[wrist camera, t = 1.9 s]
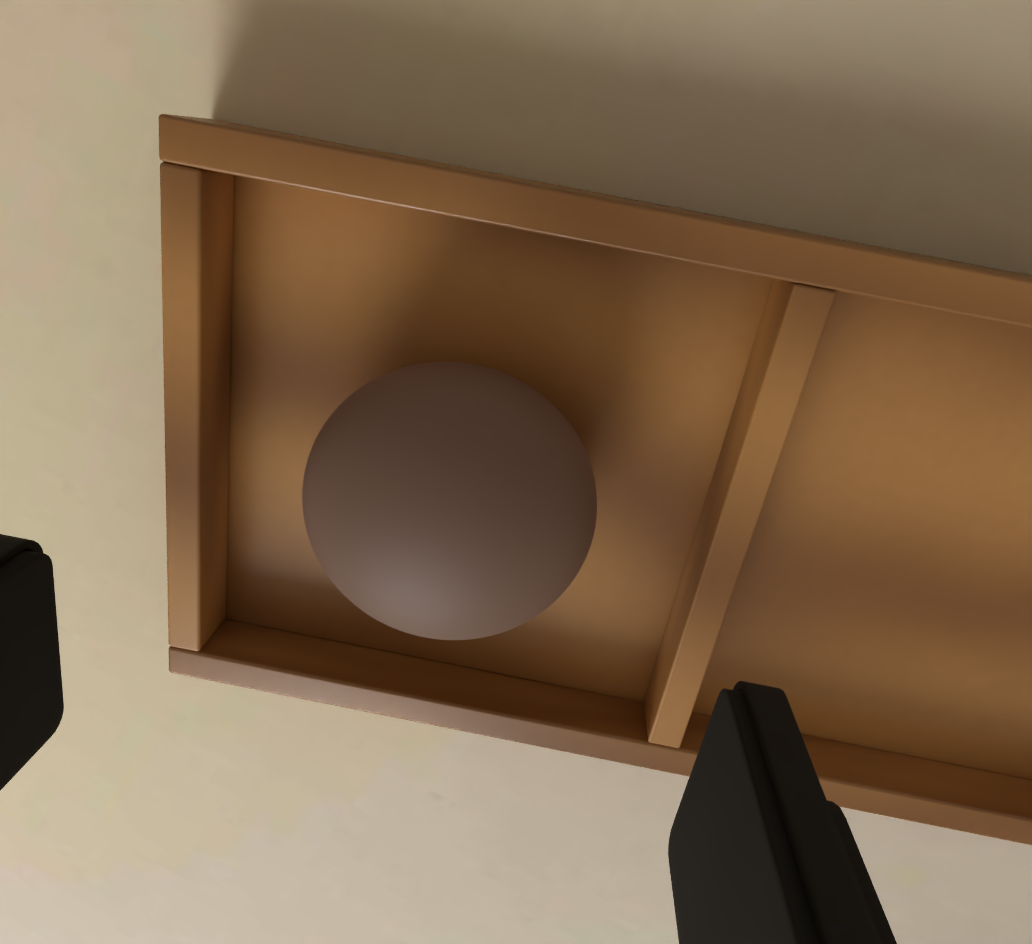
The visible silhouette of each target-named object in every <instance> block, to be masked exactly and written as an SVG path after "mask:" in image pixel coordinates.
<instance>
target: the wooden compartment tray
mask: <svg viewBox="0 0 1032 944" xmlns="http://www.w3.org/2000/svg"><path fill="white" fill-rule="evenodd" d="M159 157H160V160H162V161H164V162H163V163H161V165H160V188H161V243H162V298H163V353H164V408H165V463H166V519H167V574H168V629H169V645H170V647H169V671H170V672H171V673H176V674H181V675H186V676H191V677H196V678H201V679H206V680H211V681H216V682H221V683H226V684H231V685H236V686H241V687H246V688H251V689H256V690H261V691H266V692H271V693H276V694H281V695H286V696H291V697H296V698H301V699H306V700H311V701H316V702H321V703H326V704H331V705H336V706H341V707H346V708H351V709H356V710H361V711H366V712H371V713H376V714H381V715H386V716H391V717H396V718H401V719H405V720H410V721H415V722H420V723H425V724H430V725H435V726H440V727H445V728H450V729H455V730H460V731H465V732H470V733H475V734H480V735H485V736H490V737H495V738H500V739H505V740H510V741H515V742H520V743H525V744H530V745H535V746H540V747H545V748H550V749H555V750H560V751H565V752H570V753H575V754H580V755H585V756H590V757H595V758H600V759H605V760H610V761H615V762H620V763H625V764H630V765H635V766H640V767H645V768H650V769H655V770H660V771H665V772H670V773H675V774H680V775H685V776H690V774H691V772H692V769H693V766H694V763H695V760H696V757H697V755H698V752H699V749H700V746H701V743H702V740H703V737H704V735H705V732H706V729H707V726H708V723H709V720H710V718H711V715H712V712H713V709H714V706H715V703H716V700H717V698H718V695H719V693H720V691H721V690H722V689H724V688H725V689H730V690H733V688H734V686H735V685H736V683H737V682H739V681H745V682H750V683H756V684H761V685H766V686H771V687H776V688H780V689H782V690H783V691H784V693H785V694H786V696H787V699H788V702H789V704H790V707H791V709H792V712H793V714H794V717H795V720H796V722H797V725H798V727H799V730H800V733H801V735H802V738H803V740H804V743H805V745H806V748H807V751H808V753H809V756H810V758H811V761H812V764H813V766H814V769H815V771H816V774H817V776H818V779H819V782H820V784H821V787H822V789H823V792H824V795H825V797H826V800H828V801H833V802H834V803H835V804H837V805H838V806H839V807H844V808H849V809H854V810H859V811H864V812H869V813H874V814H879V815H884V816H889V817H894V818H899V819H904V820H909V821H914V822H919V823H924V824H929V825H934V826H939V827H944V828H949V829H954V830H959V831H964V832H969V833H974V834H979V835H984V836H989V837H994V838H999V839H1004V840H1009V841H1014V842H1019V843H1024V844H1029V845H1032V276H1030V275H1025V274H1019V273H1014V272H1009V271H1004V270H999V269H993V268H988V267H983V266H978V265H972V264H967V263H962V262H957V261H951V260H946V259H941V258H936V257H930V256H925V255H920V254H915V253H909V252H904V251H899V250H894V249H889V248H883V247H878V246H873V245H868V244H862V243H857V242H852V241H847V240H841V239H836V238H831V237H826V236H820V235H815V234H810V233H805V232H800V231H794V230H789V229H784V228H779V227H773V226H768V225H763V224H758V223H752V222H747V221H742V220H737V219H731V218H726V217H721V216H716V215H710V214H705V213H700V212H695V211H690V210H684V209H679V208H674V207H669V206H663V205H658V204H653V203H648V202H642V201H637V200H632V199H627V198H621V197H616V196H611V195H606V194H600V193H595V192H590V191H585V190H580V189H574V188H569V187H564V186H559V185H553V184H548V183H543V182H538V181H532V180H527V179H522V178H517V177H511V176H506V175H501V174H496V173H490V172H485V171H480V170H475V169H470V168H464V167H459V166H454V165H449V164H443V163H438V162H433V161H428V160H422V159H417V158H412V157H407V156H401V155H396V154H391V153H386V152H380V151H375V150H370V149H365V148H360V147H354V146H349V145H344V144H339V143H333V142H328V141H323V140H318V139H312V138H307V137H302V136H297V135H291V134H286V133H281V132H276V131H271V130H265V129H260V128H255V127H250V126H244V125H239V124H234V123H229V122H223V121H218V120H213V119H205V118H195V117H186V116H177V115H167V114H161V115H159ZM429 362H461V363H469V364H475V365H480V366H484V367H488V368H491V369H494V370H497V371H500V372H503V373H505V374H507V375H510V376H512V377H514V378H516V379H518V380H520V381H522V382H524V383H525V384H527V385H529V386H530V387H532V388H533V389H535V390H536V391H537V392H539V393H540V394H541V395H543V396H544V397H545V398H546V399H547V400H549V401H550V402H551V403H552V404H553V405H554V406H555V407H556V408H557V409H558V410H559V411H560V412H561V413H562V414H563V416H564V417H565V418H566V419H567V421H568V422H569V423H570V425H571V426H572V427H573V429H574V430H575V432H576V433H577V435H578V437H579V438H580V440H581V442H582V444H583V446H584V448H585V451H586V453H587V455H588V458H589V461H590V463H591V467H592V470H593V474H594V479H595V484H596V492H597V518H596V526H595V531H594V536H593V540H592V543H591V546H590V549H589V552H588V554H587V557H586V559H585V561H584V563H583V565H582V567H581V569H580V571H579V572H578V574H577V576H576V577H575V579H574V580H573V581H572V583H571V584H570V585H569V587H568V588H567V589H566V590H565V592H564V593H563V594H562V595H561V596H560V597H559V598H558V599H557V600H556V601H555V602H554V603H553V604H552V605H550V606H549V607H548V608H547V609H545V610H544V611H543V612H541V613H540V614H539V615H537V616H536V617H534V618H532V619H531V620H529V621H527V622H525V623H524V624H522V625H520V626H517V627H515V628H513V629H510V630H508V631H505V632H502V633H499V634H496V635H492V636H488V637H483V638H477V639H469V640H439V639H431V638H425V637H420V636H416V635H412V634H409V633H405V632H402V631H400V630H397V629H395V628H392V627H390V626H388V625H386V624H384V623H382V622H380V621H378V620H376V619H374V618H373V617H371V616H369V615H368V614H366V613H365V612H364V611H362V610H361V609H359V608H358V607H357V606H356V605H354V604H353V603H352V602H351V601H350V600H349V599H348V598H347V597H346V596H344V595H343V594H342V593H341V591H340V590H339V589H338V588H337V587H336V586H335V585H334V583H333V582H332V581H331V580H330V578H329V577H328V575H327V574H326V572H325V571H324V569H323V568H322V566H321V564H320V563H319V561H318V559H317V557H316V555H315V553H314V550H313V548H312V546H311V543H310V540H309V537H308V534H307V530H306V526H305V521H304V515H303V505H302V488H303V479H304V473H305V468H306V464H307V460H308V457H309V454H310V451H311V448H312V446H313V444H314V442H315V439H316V437H317V435H318V434H319V432H320V430H321V428H322V427H323V425H324V424H325V422H326V421H327V420H328V418H329V417H330V416H331V414H332V413H333V412H334V411H335V410H336V409H337V407H338V406H339V405H340V404H341V403H342V402H343V401H344V400H345V399H347V398H348V397H349V396H350V395H351V394H353V393H354V392H355V391H356V390H358V389H359V388H361V387H362V386H364V385H365V384H367V383H368V382H370V381H372V380H374V379H376V378H378V377H380V376H382V375H384V374H386V373H389V372H391V371H394V370H397V369H400V368H403V367H407V366H411V365H416V364H422V363H429Z"/></svg>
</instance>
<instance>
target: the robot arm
mask: <svg viewBox="0 0 1032 944" xmlns="http://www.w3.org/2000/svg"><path fill="white" fill-rule="evenodd" d="M63 708H64V704H63V692H62V679H61V666H60V654H59V641H58V629H57V616H56V603H55V591H54V578H53V565H52V561H51V559H50V557H49V556H48V555H46V554H43V550H42V548H41V546H40V545H39V543H37V542H35V541H32V540H27V539H22V538H17V537H12V536H7V535H2V534H0V790H1V789H2V788H3V787H4V786H5V785H6V784H7V783H8V782H9V781H10V780H11V779H12V778H13V776H14V775H15V774H16V773H17V772H18V771H19V770H20V769H21V768H22V767H23V766H24V765H25V764H26V763H27V762H28V761H29V759H30V758H31V757H32V756H33V755H34V754H35V753H36V752H37V751H38V750H39V749H40V748H41V747H42V746H43V745H44V744H45V742H46V741H47V740H48V739H49V738H50V737H51V736H52V735H53V733H54V732H55V731H56V729H57V727H58V726H59V724H60V721H61V719H62V715H63ZM668 855H669V866H670V874H671V882H672V890H673V898H674V906H675V914H676V922H677V930H678V938H679V944H897V943H896V941H895V938H894V936H893V933H892V931H891V928H890V926H889V923H888V921H887V918H886V916H885V913H884V911H883V908H882V906H881V904H880V901H879V899H878V896H877V894H876V891H875V889H874V886H873V884H872V881H871V879H870V876H869V874H868V872H867V869H866V867H865V864H864V862H863V859H862V857H861V854H860V852H859V849H858V847H857V844H856V842H855V840H854V837H853V835H852V832H851V830H850V827H849V825H848V822H847V820H846V818H845V816H844V814H843V812H842V810H841V808H840V807H839V806H838V805H837V804H835V803H834V802H833V801H828V800H826V797H825V795H824V792H823V789H822V787H821V784H820V782H819V779H818V776H817V774H816V771H815V769H814V766H813V764H812V761H811V758H810V756H809V753H808V751H807V748H806V745H805V743H804V740H803V738H802V735H801V733H800V730H799V727H798V725H797V722H796V720H795V717H794V714H793V712H792V709H791V707H790V704H789V702H788V699H787V696H786V694H785V693H784V691H783V690H782V689H780V688H776V687H771V686H766V685H761V684H756V683H750V682H745V681H739V682H737V683H736V685H735V686H734V688H733V690H730V689H725V688H724V689H722V690H721V691H720V693H719V695H718V698H717V700H716V703H715V706H714V709H713V712H712V715H711V718H710V720H709V723H708V726H707V729H706V732H705V735H704V737H703V740H702V743H701V746H700V749H699V752H698V755H697V757H696V760H695V763H694V766H693V769H692V772H691V774H690V777H689V780H688V783H687V786H686V789H685V791H684V794H683V797H682V800H681V803H680V806H679V809H678V811H677V814H676V817H675V820H674V823H673V826H672V829H671V832H670V838H669V849H668Z"/></svg>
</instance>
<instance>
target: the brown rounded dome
mask: <svg viewBox="0 0 1032 944" xmlns="http://www.w3.org/2000/svg"><path fill="white" fill-rule="evenodd" d="M302 505H303V515H304V521H305V526H306V530H307V534H308V537H309V540H310V543H311V546H312V548H313V550H314V553H315V555H316V557H317V559H318V561H319V563H320V564H321V566H322V568H323V569H324V571H325V572H326V574H327V575H328V577H329V578H330V580H331V581H332V582H333V583H334V585H335V586H336V587H337V588H338V589H339V590H340V591H341V593H342V594H343V595H344V596H346V597H347V598H348V599H349V600H350V601H351V602H352V603H353V604H354V605H356V606H357V607H358V608H359V609H361V610H362V611H364V612H365V613H366V614H368V615H369V616H371V617H373V618H374V619H376V620H378V621H380V622H382V623H384V624H386V625H388V626H390V627H392V628H395V629H397V630H400V631H402V632H405V633H409V634H412V635H416V636H420V637H425V638H431V639H439V640H469V639H477V638H483V637H488V636H492V635H496V634H499V633H502V632H505V631H508V630H510V629H513V628H515V627H517V626H520V625H522V624H524V623H525V622H527V621H529V620H531V619H532V618H534V617H536V616H537V615H539V614H540V613H541V612H543V611H544V610H545V609H547V608H548V607H549V606H550V605H552V604H553V603H554V602H555V601H556V600H557V599H558V598H559V597H560V596H561V595H562V594H563V593H564V592H565V590H566V589H567V588H568V587H569V585H570V584H571V583H572V581H573V580H574V579H575V577H576V576H577V574H578V572H579V571H580V569H581V567H582V565H583V563H584V561H585V559H586V557H587V554H588V552H589V549H590V546H591V543H592V540H593V536H594V531H595V526H596V518H597V492H596V484H595V479H594V474H593V470H592V467H591V463H590V461H589V458H588V455H587V453H586V451H585V448H584V446H583V444H582V442H581V440H580V438H579V437H578V435H577V433H576V432H575V430H574V429H573V427H572V426H571V425H570V423H569V422H568V421H567V419H566V418H565V417H564V416H563V414H562V413H561V412H560V411H559V410H558V409H557V408H556V407H555V406H554V405H553V404H552V403H551V402H550V401H549V400H547V399H546V398H545V397H544V396H543V395H541V394H540V393H539V392H537V391H536V390H535V389H533V388H532V387H530V386H529V385H527V384H525V383H524V382H522V381H520V380H518V379H516V378H514V377H512V376H510V375H507V374H505V373H503V372H500V371H497V370H494V369H491V368H488V367H484V366H480V365H475V364H469V363H461V362H429V363H422V364H416V365H411V366H407V367H403V368H400V369H397V370H394V371H391V372H389V373H386V374H384V375H382V376H380V377H378V378H376V379H374V380H372V381H370V382H368V383H367V384H365V385H364V386H362V387H361V388H359V389H358V390H356V391H355V392H354V393H353V394H351V395H350V396H349V397H348V398H347V399H345V400H344V401H343V402H342V403H341V404H340V405H339V406H338V407H337V409H336V410H335V411H334V412H333V413H332V414H331V416H330V417H329V418H328V420H327V421H326V422H325V424H324V425H323V427H322V428H321V430H320V432H319V434H318V435H317V437H316V439H315V442H314V444H313V446H312V448H311V451H310V454H309V457H308V460H307V464H306V468H305V473H304V479H303V488H302Z"/></svg>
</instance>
